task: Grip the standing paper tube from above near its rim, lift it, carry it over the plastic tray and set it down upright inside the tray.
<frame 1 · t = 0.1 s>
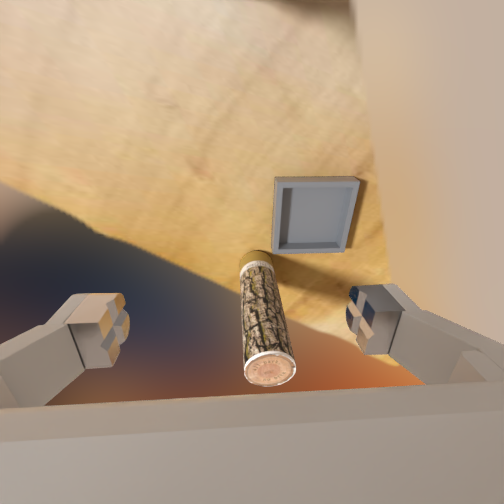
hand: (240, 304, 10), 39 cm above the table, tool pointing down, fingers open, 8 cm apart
tray: (309, 213, 51), on the table
paper tube: (255, 262, 56), on the table
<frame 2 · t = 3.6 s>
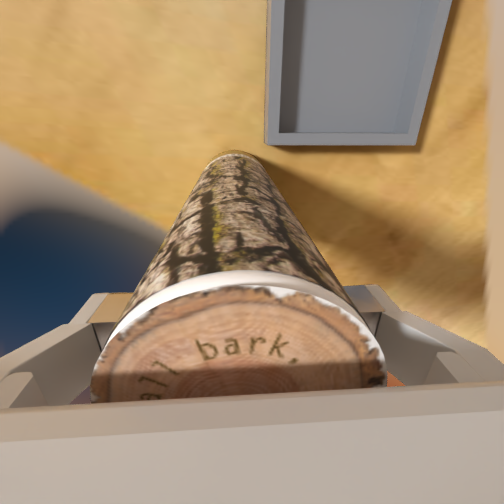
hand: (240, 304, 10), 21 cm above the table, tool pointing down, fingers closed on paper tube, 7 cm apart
tray: (342, 59, 24), on the table
paper tube: (234, 182, 29), on the table, touching gripper
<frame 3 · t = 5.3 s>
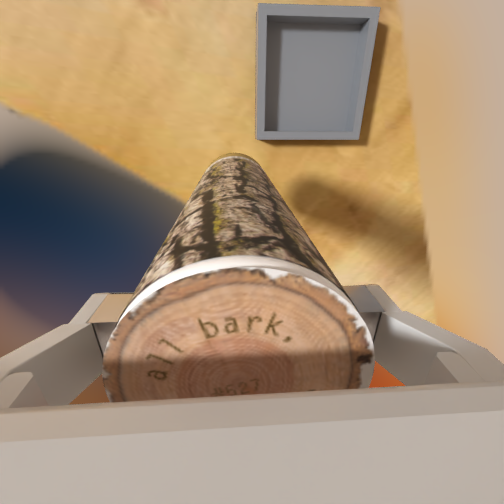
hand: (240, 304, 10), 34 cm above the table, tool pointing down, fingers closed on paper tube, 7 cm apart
tray: (307, 81, 36), on the table
paper tube: (235, 184, 30), point 12 cm above the table, touching gripper
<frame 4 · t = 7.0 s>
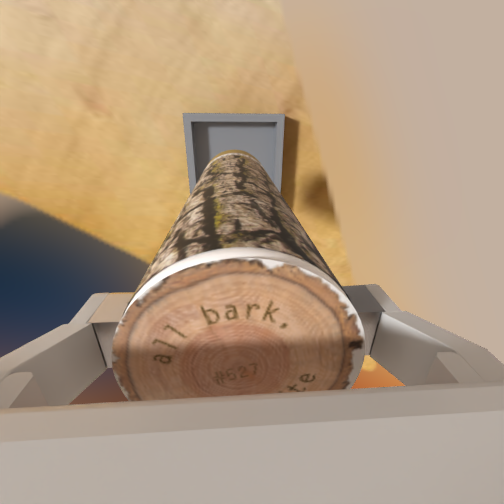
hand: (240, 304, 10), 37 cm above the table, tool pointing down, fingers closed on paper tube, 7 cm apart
tray: (235, 163, 43), on the table
paper tube: (234, 181, 30), point 14 cm above the table, touching gripper
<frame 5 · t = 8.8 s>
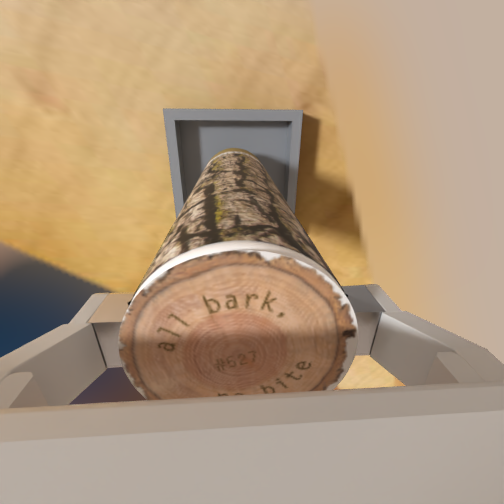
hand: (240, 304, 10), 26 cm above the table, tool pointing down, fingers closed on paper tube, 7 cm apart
tray: (235, 175, 33), on the table
paper tube: (234, 179, 30), point 3 cm above the table, touching gripper
when the fingers open (23 cm above the table, at t = 10.4 s): paper tube stays where it is, resting on tray.
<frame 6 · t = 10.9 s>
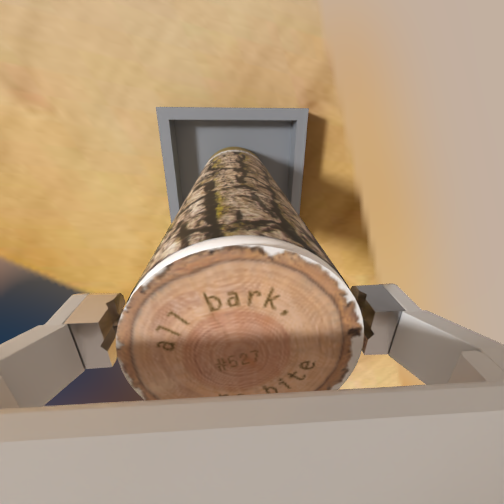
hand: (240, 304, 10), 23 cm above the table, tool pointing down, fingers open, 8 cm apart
tray: (235, 178, 30), on the table
paper tube: (234, 178, 30), resting on tray
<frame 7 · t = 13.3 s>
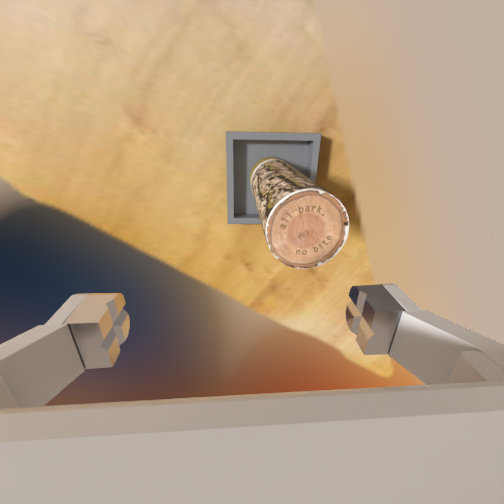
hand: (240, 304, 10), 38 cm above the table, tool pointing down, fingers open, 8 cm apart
tray: (269, 178, 45), on the table
paper tube: (269, 177, 44), resting on tray
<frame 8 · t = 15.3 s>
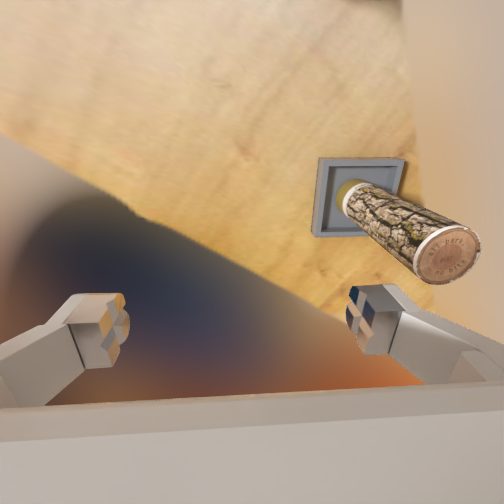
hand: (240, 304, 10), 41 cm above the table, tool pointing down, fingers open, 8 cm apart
tray: (350, 196, 51), on the table
paper tube: (351, 196, 51), resting on tray
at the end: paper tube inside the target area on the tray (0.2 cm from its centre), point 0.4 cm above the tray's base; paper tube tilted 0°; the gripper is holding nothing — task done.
